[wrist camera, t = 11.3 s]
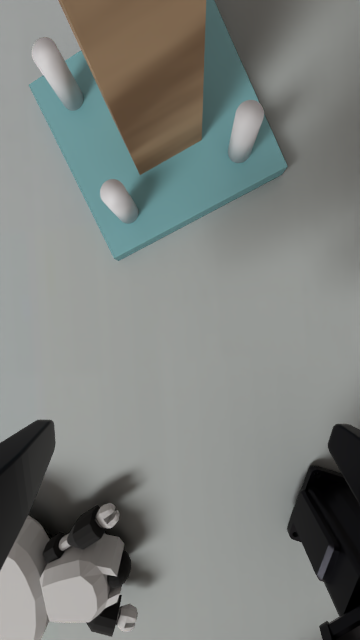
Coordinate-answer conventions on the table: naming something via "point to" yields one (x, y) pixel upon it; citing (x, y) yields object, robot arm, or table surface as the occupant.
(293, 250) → the table surface
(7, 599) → the robot toy
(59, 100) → the peg plate
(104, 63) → the walnut pillar
